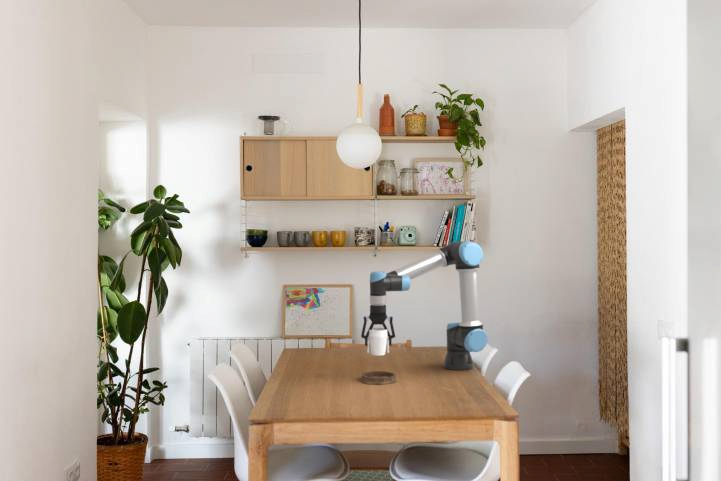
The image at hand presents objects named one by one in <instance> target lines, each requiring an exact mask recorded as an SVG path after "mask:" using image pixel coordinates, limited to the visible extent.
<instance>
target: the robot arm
mask: <svg viewBox="0 0 721 481" xmlns="http://www.w3.org/2000/svg"><path fill="white" fill-rule="evenodd" d="M483 257H484V252H483V249H482V248H481V246H480V245H479V244H478V243H476V242H474V241H471V240H470V241H469V240H468V241H454V242H451V243H449V244H447V245H444V246H442V247H440V248H437V249H436V251H435V252H433V253H432V254H429V255H426V256H424V257H422V258H419V259H418V260H415V261H412V262H411V263H408V264H406V265H403V266H401V267H399V268H396V269H394V270H391V271H389V272H386V271H381V270H380V271H377V270H376V271H371V272H370V275H369V304H370V306H369V315H367V316H366V315H364V316H363V326H362V329H361V334H360V337H361V338H362V339H364V346H365V347H367V349H366V350H367V354H370V343H369V329H370V330H372V328H374V326H375V325H380V326H381V325H382V328H384V329H385V330H387V335H388V338H387V345H386V353H387V354H390V347H392V339H393V338H396V335H395V329H394V328H395V327H394V323H393V318H394V317H393V316H392V315H391V316H389V315H387V305H386V303H387V292H405V291H409V290H410V289H411V284H412V283H411V282H412V281H411V280H413V279H415V278H418V277H420V276H423V275H424V274H427V273H429V272H431V271H433V270H436V269H438V268H440V267H442V268H446V267H448V266H451V265H452V266H453V265H455V271H457V273H458V275H459V276H458V277H459V281H458V282H459V292H460V293H459V294H460V296H459V298H460V312H461V314H460V315H461V321H460V322H450V323H447V325H446V354H445V356H444V357H445V359H444V360H443V368H444V369H446V370H447V369H448V370H451V371H467V370H472V369H474V361H473V359H472V355H471V353H478V352H481V351H483V350H484V349H485V348H486V347H487V344H488V340H489V339H488V334H487V332H486V331H485V330H484V324H483V322H482V321H481V320H480V309H479V308H480V307H479V291H478V276H477V274H478V270H480V264H481V263H482V261H483ZM369 320H370V321H371V323H370V325H369V327H368V329H367V332H366V328H367V324H368V321H369ZM386 320H388V322H389V326H390V331H391V333H390V332H389V330H388V327H387V325H386V323H385V322H386ZM365 332H366V334H365Z"/></svg>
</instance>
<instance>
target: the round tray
mask: <svg viewBox="0 0 721 481" xmlns="http://www.w3.org/2000/svg"><path fill="white" fill-rule="evenodd" d="M397 381H398V379H397V374H396V373H394V372H392V371H387V370H386V371H385V370H384V371H383V370H376V371H375V370H374V371H373V370H372V371H371V370H370V371H365V372H363V373H361V378H360V382H361V383H362V384H366V385H377V386H378V385H379V386H381V385H383V386H384V385H391V384H395V383H397Z"/></svg>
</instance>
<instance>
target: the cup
mask: <svg viewBox="0 0 721 481" xmlns="http://www.w3.org/2000/svg"><path fill="white" fill-rule="evenodd" d="M368 329H369V328H368ZM387 338H389V337H388V335H387V330H385V329H384V327H373V328H372V330H370V329H369V336H368V339H369V351H370V355H371V356H374V357H375V356H376V357H379V356H385V355H386V353H387Z"/></svg>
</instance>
